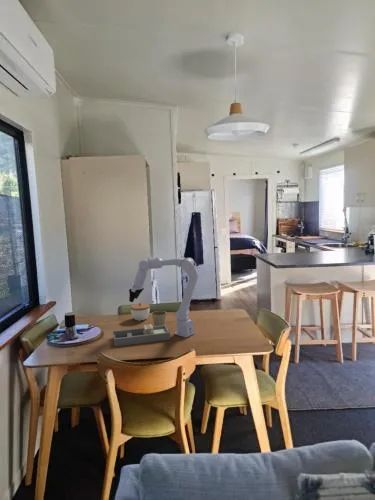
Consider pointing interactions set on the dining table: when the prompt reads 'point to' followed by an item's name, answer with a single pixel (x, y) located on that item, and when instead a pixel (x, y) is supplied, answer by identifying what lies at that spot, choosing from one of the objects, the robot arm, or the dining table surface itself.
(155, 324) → the flower pot
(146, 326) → the cream block
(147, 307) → the lidded bowl
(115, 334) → the channel
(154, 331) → the pad
